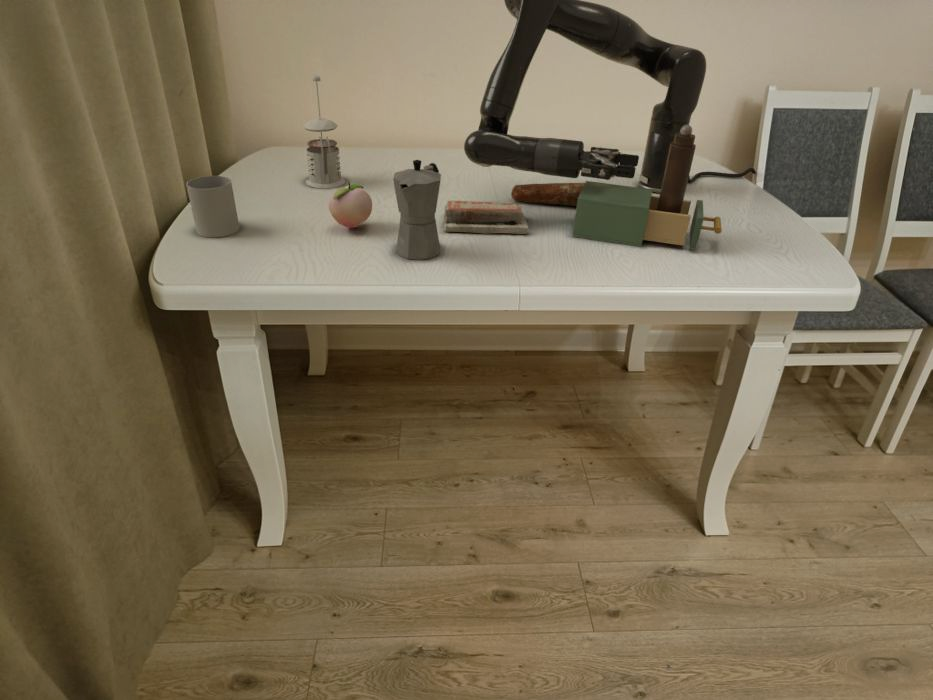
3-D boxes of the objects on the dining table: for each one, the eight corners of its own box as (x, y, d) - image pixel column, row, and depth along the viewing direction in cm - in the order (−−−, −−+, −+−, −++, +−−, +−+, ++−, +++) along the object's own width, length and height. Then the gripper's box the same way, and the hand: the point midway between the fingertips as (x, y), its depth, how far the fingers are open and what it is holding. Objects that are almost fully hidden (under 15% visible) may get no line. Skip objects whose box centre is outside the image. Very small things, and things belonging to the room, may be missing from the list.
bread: (590, 210, 146) (593, 187, 143) (509, 204, 148) (511, 180, 145) (590, 201, 151) (593, 179, 148) (512, 195, 153) (514, 172, 150)
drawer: (715, 232, 135) (723, 203, 131) (717, 252, 126) (725, 221, 122) (633, 221, 139) (638, 192, 135) (629, 240, 130) (634, 209, 126)
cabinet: (645, 225, 139) (652, 189, 134) (641, 246, 129) (649, 208, 125) (581, 216, 142) (586, 180, 138) (572, 236, 132) (577, 198, 128)
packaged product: (443, 211, 129) (444, 195, 137) (443, 233, 132) (444, 216, 140) (530, 213, 130) (525, 197, 138) (528, 235, 132) (523, 218, 141)
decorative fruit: (360, 239, 127) (357, 192, 122) (325, 233, 130) (320, 186, 124) (381, 224, 135) (379, 178, 129) (347, 218, 137) (344, 173, 131)
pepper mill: (665, 224, 135) (688, 121, 123) (680, 232, 131) (705, 126, 119) (648, 227, 133) (669, 123, 121) (663, 236, 129) (687, 128, 118)
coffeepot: (425, 268, 117) (425, 173, 107) (381, 259, 120) (377, 166, 110) (456, 238, 129) (458, 151, 119) (415, 231, 132) (414, 145, 122)
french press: (342, 174, 162) (334, 71, 148) (349, 189, 153) (341, 80, 139) (303, 177, 159) (292, 71, 146) (309, 191, 150) (297, 81, 137)
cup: (199, 239, 125) (189, 191, 119) (194, 225, 131) (183, 178, 125) (243, 233, 128) (234, 185, 122) (235, 219, 134) (227, 173, 129)
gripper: (554, 148, 123) (637, 157, 119) (566, 131, 135) (642, 139, 131) (550, 185, 127) (630, 195, 123) (562, 166, 139) (636, 174, 135)
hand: (636, 166), depth 127 cm, fingers open, 8 cm apart
